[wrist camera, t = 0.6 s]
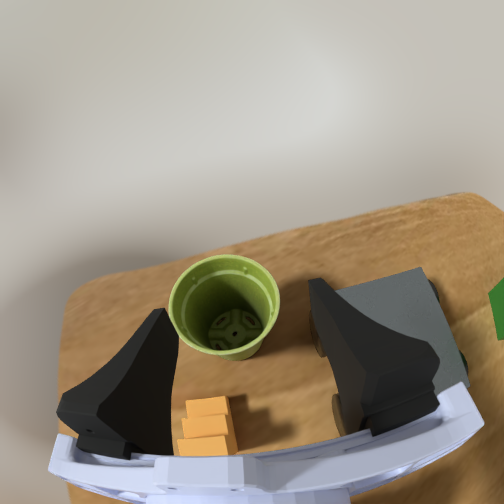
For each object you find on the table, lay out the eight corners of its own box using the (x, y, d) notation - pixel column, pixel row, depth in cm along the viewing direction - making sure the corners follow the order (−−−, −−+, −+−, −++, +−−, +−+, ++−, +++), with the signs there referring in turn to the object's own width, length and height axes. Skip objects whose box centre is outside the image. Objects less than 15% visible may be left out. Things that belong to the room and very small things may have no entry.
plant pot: (235, 283, 33) (223, 237, 26) (296, 330, 29) (303, 293, 22) (179, 336, 30) (148, 303, 23) (237, 393, 25) (222, 379, 18)
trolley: (448, 391, 22) (479, 379, 17) (339, 440, 21) (356, 443, 16) (410, 291, 30) (430, 263, 25) (307, 321, 30) (313, 295, 25)
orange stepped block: (238, 451, 22) (228, 457, 17) (199, 455, 21) (180, 460, 17) (228, 398, 25) (216, 390, 20) (191, 402, 25) (171, 395, 20)
